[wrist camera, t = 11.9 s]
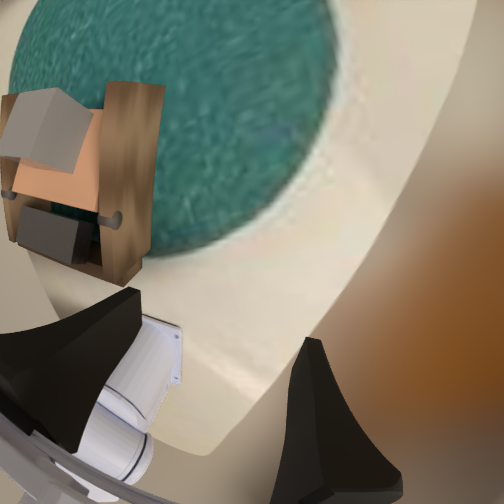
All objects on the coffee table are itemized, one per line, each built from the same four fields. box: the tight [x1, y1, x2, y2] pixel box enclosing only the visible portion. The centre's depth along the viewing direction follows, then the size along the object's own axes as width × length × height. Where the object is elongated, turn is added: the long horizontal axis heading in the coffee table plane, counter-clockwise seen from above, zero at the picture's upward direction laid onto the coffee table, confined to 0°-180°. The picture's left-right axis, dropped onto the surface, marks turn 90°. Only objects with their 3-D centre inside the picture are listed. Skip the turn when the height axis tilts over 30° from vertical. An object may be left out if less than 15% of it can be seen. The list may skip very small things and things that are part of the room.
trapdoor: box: [12, 109, 104, 265], centre depth 18 cm, size 11×10×2 cm
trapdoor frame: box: [0, 81, 166, 287], centre depth 18 cm, size 14×13×6 cm
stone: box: [0, 87, 94, 174], centre depth 14 cm, size 4×4×4 cm
